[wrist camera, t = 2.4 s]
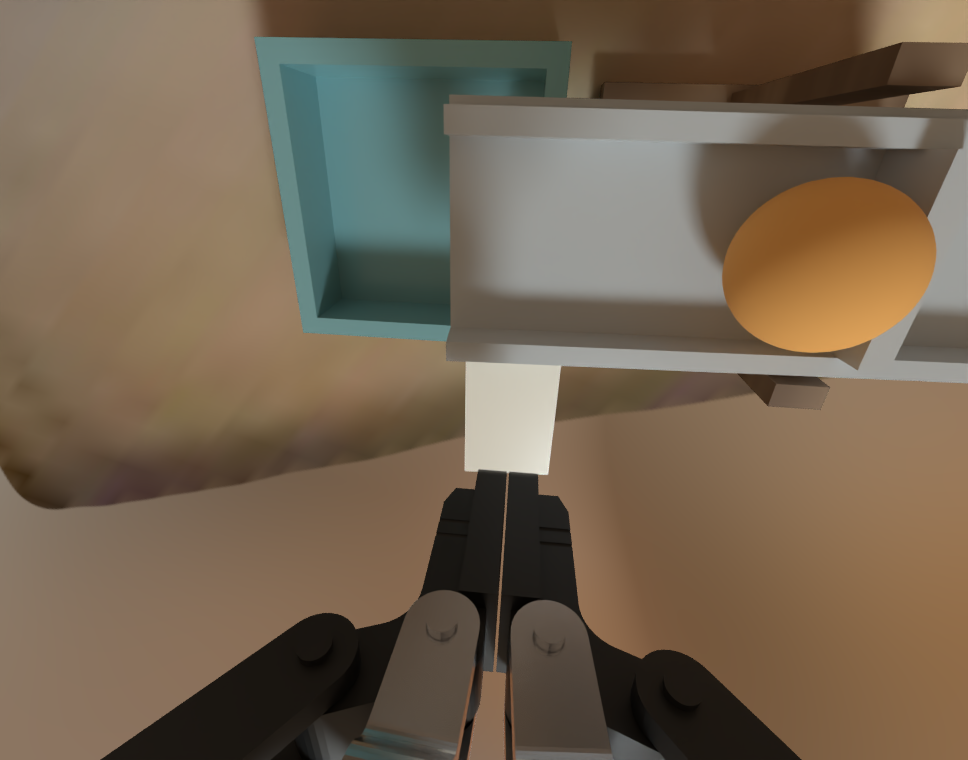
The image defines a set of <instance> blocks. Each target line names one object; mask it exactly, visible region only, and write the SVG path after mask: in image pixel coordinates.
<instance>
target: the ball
mask: <svg viewBox="0 0 968 760" xmlns="http://www.w3.org/2000/svg"><path fill="white" fill-rule="evenodd" d="M936 252H937V250H936V241H935V236H934V232H933V228H932V226H931V224H930V222H929V220H928V218H927V217H926V215H925V213H924V212H923V211H922V209H921V208H920V207H919V206H918V205H917V204H916V203H915V202H914V201H913V200H912V199H911V198H910V197H908V196H907V195H906V194H904V193H903V192H901V191H899V190H898V189H896V188H894V187H892V186H890V185H887V184H884V183H881V182H878V181H875V180H871V179H865V178H857V177H832V178H825V179H820V180H815V181H810V182H807V183H804V184H801V185H798V186H795V187H793V188H790V189H788V190H786V191H784V192H782V193H780V194H778V195H777V196H775V197H774V198H772V199H770V200H769V201H767V202H766V203H764V204H763V205H762V206H761V207H759V208H758V209H757V210H756V211H755V212H754V213H753V214H752V215H750V217H749V218H748V219H747V220H746V221H745V222H744V223H743V224H742V226H741V227H740V228H739V230H738V231H737V233H736V234H735V236H734V238H733V239H732V241H731V243H730V245H729V248H728V250H727V253H726V256H725V260H724V264H723V271H722V286H723V291H724V296H725V299H726V302H727V305H728V307H729V308H730V310H731V312H732V314H733V315H734V317H735V318H736V320H737V321H738V322H739V323H740V324H741V325H742V326H743V327H744V328H745V329H746V330H747V331H748V332H749V333H751V334H752V335H754V336H755V337H757V338H758V339H760V340H762V341H764V342H766V343H768V344H770V345H773V346H776V347H778V348H782V349H786V350H791V351H796V352H808V353H818V352H831V351H836V350H841V349H846V348H850V347H853V346H856V345H859V344H862V343H864V342H867V341H869V340H871V339H874V338H876V337H877V336H879V335H881V334H883V333H884V332H886V331H887V330H889V329H890V328H892V327H893V326H895V325H896V324H897V323H899V322H900V321H901V320H902V319H903V318H904V317H906V316H907V315H908V314H909V313H910V312H911V310H912V309H913V308H914V307H915V306H916V305H917V303H918V302H919V301H920V299H921V298H922V296H923V295H924V293H925V291H926V289H927V288H928V286H929V283H930V281H931V278H932V275H933V272H934V267H935V262H936Z"/></svg>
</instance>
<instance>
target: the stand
mask: <svg viewBox="0 0 968 760" xmlns="http://www.w3.org/2000/svg"><path fill="white" fill-rule="evenodd" d="M967 71H968V43H930V42H901V43H898V44H895V45H891V46H888V47H885V48H881V49H878V50H875V51H871V52H868V53H865V54H861V55H858V56H855V57H851V58H848V59H845V60H842V61H838V62H835V63H832V64H828V65H825V66H822V67H818V68H815V69H812V70H808V71H805V72H802V73H798V74H795V75H792V76H788V77H785V78H782V79H779V80H775V81H772V82H769V83H765V84H762V85H724V84H675V83H626V82H605V83H604V84H602V86H601V94H600V99H622V100H657V101H691V102H726V103H761V104H795V105H830V106H864V107H899V108H904V107H905V104H906V102H907V99H908V96H909V94H916V93H922V92H928V91H935V90H941V89H947V88H954V87H960V86H961V85H962V82H963V80H964V78H965V75H966V73H967ZM737 374H738V375H739V376H740V377H741V378H742V379H743V380H744V381H745V382H746V383H747V385H748V386H749V387H750V388H751V389H752V390H753V391H754V392H755V393H756V394H757V395H758V396H759V397H760V398H761V399H762V400H763V401H764V403H765V404H767V406H772V407H787V408H801V409H815V410H816V409H817V410H821V408H822V405H823V403H824V401H825V398H826V396H827V393H828V392H829V389H830V387H829V386H827V385H826V384H825V383H824V382H822V381H821V380H820V379H819V378H817V377H813V376H790V375H766V374H743V373H737Z"/></svg>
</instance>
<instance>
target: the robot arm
mask: <svg viewBox="0 0 968 760" xmlns="http://www.w3.org/2000/svg"><path fill="white" fill-rule="evenodd" d="M506 476H507V471H495V470H483V469H479V470H478V474H477V480H476V486H475V490H474V489H462V488H456V489H455V490H454V491H453V492H452V493H451V494H450V496H449V497H448V498H447V499H446V500H445V501H444V504H443V508H442V513H441V517H440V522H439V524H438V528H437V534H436V536H435V540H434V544H433V549H432V552H431V556H430V561H429V564H428V568H427V572H426V576H425V581H424V585H423V589H422V591H421V594H420V596H419V598H418V600H416V601H415V602H414V604H413V605H412V606H411V607H410V609H409V610H408V611H407V612H406V613H405V614H403V615H402V616H400V617H398V618H397V619H394V620H392V621H390V622H386V623H383V624H378V625H374V626H369V627H364V628H360V629H355V627H354V625H353V624H352V623H351V622H350V621H349V620H348V619H347V618H345V617H343V616H341V615H338V614H333V613H322V614H317V615H313V616H310V617H308V618H306V619H304V620H302V621H300V622H299V623H297V624H296V625H294V626H293V627H291V628H290V629H288V630H287V631H285V632H284V633H282V634H281V635H280V636H278V637H277V638H275V639H274V640H273V641H271V642H270V643H268V644H267V645H265V646H264V647H262V648H261V649H260V650H258V651H257V652H255V653H254V654H252V655H251V656H249V657H248V658H247V659H245V660H244V661H242V662H241V663H239V664H238V665H237V666H235V667H234V668H232V669H231V670H229V671H228V672H226V673H225V674H223V675H222V676H221V677H219V678H218V679H216V680H215V681H214V682H212V683H210V684H209V685H208V686H206V687H205V688H203V689H202V690H200V691H199V692H197V693H196V694H195V695H193V696H192V697H190V698H189V699H187V700H186V701H185V702H183V703H182V704H180V705H179V706H177V707H176V708H175V709H173V710H172V711H170V712H169V713H167V714H166V715H164V716H163V717H162V718H160V719H159V720H157V721H156V722H154V723H153V724H152V725H150V726H148V727H147V728H146V729H144V730H143V731H141V732H140V733H138V734H137V735H136V736H134V737H133V738H131V739H130V740H128V741H127V742H125V743H124V744H123V745H121V746H120V747H118V748H117V749H115V750H114V751H112V752H111V753H110V754H108V755H107V756H105V757H104V758H102V759H101V760H469V758H470V752H471V746H472V739H473V734H474V728H475V721H476V713H477V710H478V707H479V705H480V698H481V689H482V678H483V671H490V672H493V665H494V650H495V636H496V623H497V609H498V595H499V581H500V566H501V552H502V538H503V523H504V508H505V506H504V505H505V492H506ZM496 671H497V672H502V673H506V685H505V686H506V687H505V704H504V719H503V721H504V760H801V759H800V758H799V757H798V756H797V755H796V754H795V753H794V752H793V751H792V750H791V749H790V748H789V747H788V746H787V745H786V744H785V743H784V742H782V741H781V740H780V739H779V738H778V737H777V736H776V735H775V734H774V733H773V732H772V731H771V730H770V729H769V728H768V727H767V726H766V725H765V724H764V723H763V722H761V721H760V720H759V719H758V718H757V717H756V716H755V715H754V714H753V713H752V712H751V711H750V710H749V709H748V708H747V707H746V706H745V705H744V704H743V703H741V702H740V701H739V700H738V699H737V698H736V697H735V696H734V695H733V694H732V693H731V692H730V691H729V690H728V689H727V688H726V687H725V686H724V685H723V684H722V683H720V681H718V680H717V679H716V678H715V677H714V676H713V675H712V674H711V673H710V672H709V671H708V670H707V669H706V668H705V667H703V666H702V665H701V664H700V663H699V662H697V661H695V660H694V659H693V658H691V657H689V656H687V655H685V654H682V653H680V652H676V651H672V650H657V651H654V652H651V653H649V654H648V655H646V656H645V657H644V658H643V659H640V658H638V657H636V656H633V655H631V654H629V653H626V652H624V651H622V650H619V649H617V648H615V647H613V646H611V645H609V644H607V643H606V642H604V641H603V640H601V639H600V638H599V637H598V636H596V635H595V634H594V633H593V632H592V631H591V629H589V627H588V626H587V624H586V623H585V621H584V619H583V617H582V615H581V612H580V610H579V605H578V596H577V587H576V578H575V569H574V560H573V551H572V542H571V533H570V523H569V514H568V511H567V509H566V508H565V506H564V505H563V503H562V502H561V500H560V499H559V497H558V496H549V495H538V474H535V473H522V472H510V471H509V485H508V499H507V515H506V530H505V545H504V561H503V576H502V592H501V607H500V624H499V638H498V653H497V670H496Z"/></svg>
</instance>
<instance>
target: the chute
mask: <svg viewBox="0 0 968 760" xmlns="http://www.w3.org/2000/svg"><path fill="white" fill-rule="evenodd" d="M444 134H445V135H448V136H449V137H450V303H451V328H450V331H449V334H448V337H447V341H446V361H462V362H466V399H465V471H478V470H479V469H483V470H495V471H507V473H509V471H510V472H522V473H535V474H541V475H548V470H549V462H550V453H551V444H552V436H553V429H554V420H555V412H556V403H557V395H558V386H559V378H560V369H561V366H579V367H603V368H626V369H649V370H673V371H696V372H719V373H743V374H766V375H790V376H813V377H836V378H860V379H861V378H862V379H883V380H885V379H886V380H907V381H930V382H954V383H968V109H933V108H899V107H864V106H830V105H795V104H761V103H726V102H691V101H657V100H622V99H588V98H553V97H519V96H484V95H450V94H449V104H444ZM832 177H857V178H865V179H871V180H875V181H878V182H881V183H884V184H887V185H890V186H892V187H894V188H896V189H898V190H899V191H901V192H903V193H904V194H906V195H907V196H908V197H910V198H911V199H912V200H913V201H914V202H915V203H916V204H917V205H918V206H919V207H920V208H921V209H922V211H923V212H924V213H925V215H926V217H927V218H928V220H929V222H930V224H931V226H932V228H933V232H934V236H935V241H936V250H937V252H936V262H935V267H934V272H933V275H932V278H931V281H930V283H929V286H928V288H927V289H926V291H925V293H924V295H923V296H922V298H921V299H920V301H919V302H918V303H917V305H916V306H915V307H914V308H913V309H912V310H911V312H910V313H909V314H908V315H907V316H906V317H904V318H903V319H902V320H901V321H900V322H899V323H897V324H896V325H895V326H893V327H892V328H890V329H889V330H887V331H886V332H884V333H883V334H881V335H879V336H877V337H876V338H874V339H871V340H869V341H867V342H864V343H862V344H859V345H856V346H853V347H850V348H846V349H841V350H836V351H831V352H818V353H808V352H796V351H791V350H786V349H782V348H778V347H776V346H773V345H770V344H768V343H766V342H764V341H762V340H760V339H758V338H757V337H755V336H754V335H752V334H751V333H749V332H748V331H747V330H746V329H745V328H744V327H743V326H742V325H741V324H740V323H739V322H738V321H737V320H736V318H735V317H734V315H733V314H732V312H731V310H730V308H729V307H728V305H727V302H726V299H725V296H724V291H723V286H722V271H723V264H724V260H725V256H726V253H727V250H728V248H729V245H730V243H731V241H732V239H733V238H734V236H735V234H736V233H737V231H738V230H739V228H740V227H741V226H742V224H743V223H744V222H745V221H746V220H747V219H748V218H749V217H750V215H752V214H753V213H754V212H755V211H756V210H757V209H758V208H759V207H761V206H762V205H763V204H764V203H766V202H767V201H769V200H770V199H772V198H774V197H775V196H777V195H778V194H780V193H782V192H784V191H786V190H788V189H790V188H793V187H795V186H798V185H801V184H804V183H807V182H810V181H815V180H820V179H825V178H832Z"/></svg>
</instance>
